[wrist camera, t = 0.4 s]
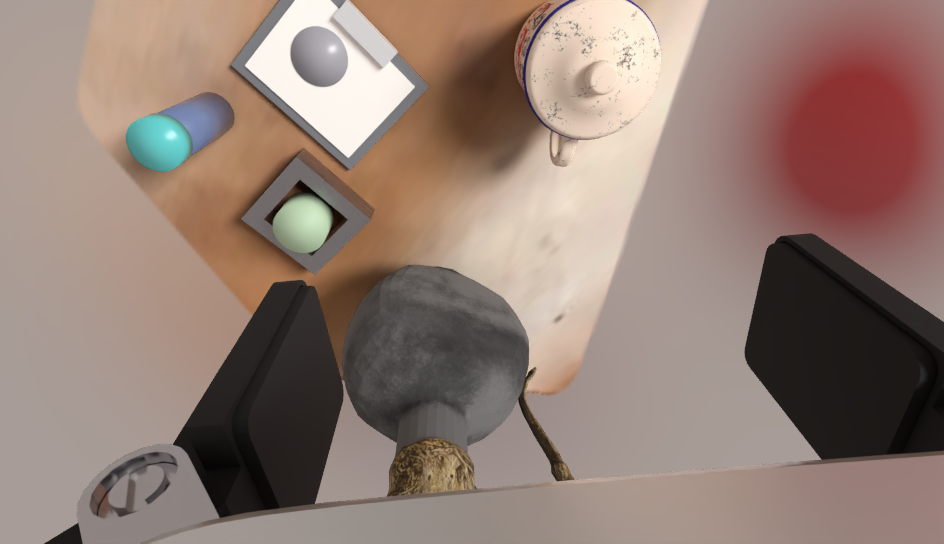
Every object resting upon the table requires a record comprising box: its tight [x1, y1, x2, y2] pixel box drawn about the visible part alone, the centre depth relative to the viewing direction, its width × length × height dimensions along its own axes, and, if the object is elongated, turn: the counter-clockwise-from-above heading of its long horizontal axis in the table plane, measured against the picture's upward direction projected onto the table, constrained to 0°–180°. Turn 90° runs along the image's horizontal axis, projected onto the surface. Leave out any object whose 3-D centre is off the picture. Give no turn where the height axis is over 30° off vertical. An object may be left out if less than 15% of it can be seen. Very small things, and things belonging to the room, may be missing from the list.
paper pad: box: [231, 0, 429, 170], centre depth 40 cm, size 12×10×1 cm
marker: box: [126, 92, 234, 172], centre depth 38 cm, size 4×4×10 cm
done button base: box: [241, 149, 374, 275], centre depth 46 cm, size 8×8×2 cm
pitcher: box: [342, 265, 574, 497], centre depth 39 cm, size 11×19×30 cm, turn 66°
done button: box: [273, 193, 333, 253], centre depth 44 cm, size 4×4×3 cm
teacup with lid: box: [514, 0, 661, 167], centre depth 36 cm, size 12×9×12 cm
